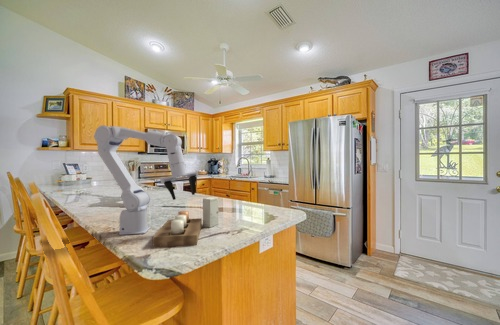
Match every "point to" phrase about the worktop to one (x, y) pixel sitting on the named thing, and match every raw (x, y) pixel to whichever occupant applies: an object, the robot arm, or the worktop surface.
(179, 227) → the white rounded cylinder
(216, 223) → the skincare box
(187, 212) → the rust plug
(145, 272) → the worktop surface
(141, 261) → the worktop surface
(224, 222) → the worktop surface
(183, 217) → the cream ball
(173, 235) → the board
